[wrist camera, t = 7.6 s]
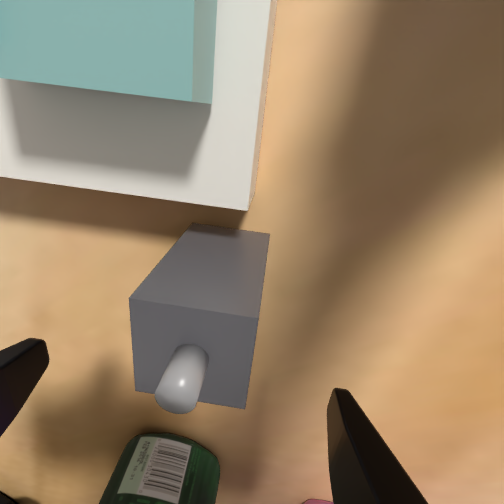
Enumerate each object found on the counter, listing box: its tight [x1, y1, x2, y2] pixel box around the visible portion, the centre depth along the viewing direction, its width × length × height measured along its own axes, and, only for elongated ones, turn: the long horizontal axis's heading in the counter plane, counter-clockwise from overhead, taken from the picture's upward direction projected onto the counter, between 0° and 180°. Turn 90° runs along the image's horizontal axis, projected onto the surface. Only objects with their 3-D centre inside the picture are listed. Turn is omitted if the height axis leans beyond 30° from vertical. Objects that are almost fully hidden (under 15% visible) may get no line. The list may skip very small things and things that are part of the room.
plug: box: [129, 223, 270, 414], centre depth 13 cm, size 4×4×9 cm
